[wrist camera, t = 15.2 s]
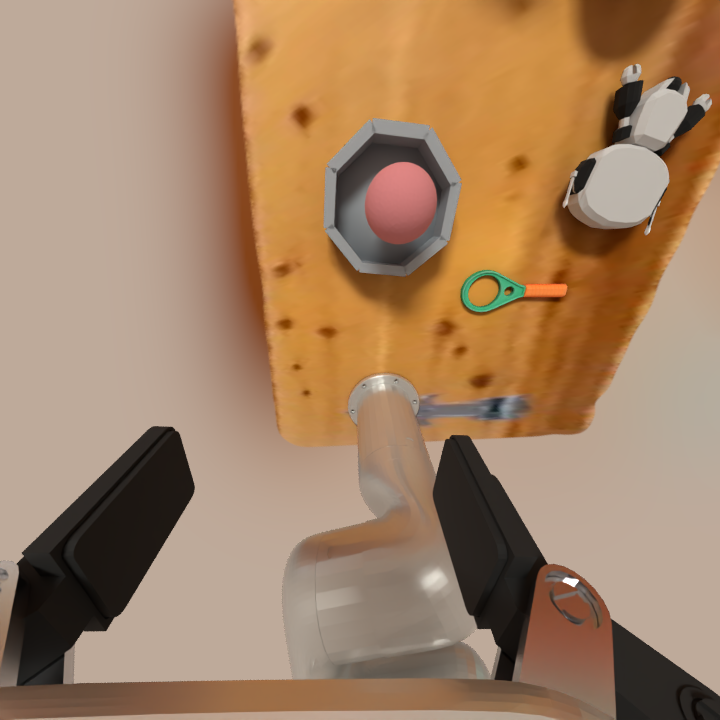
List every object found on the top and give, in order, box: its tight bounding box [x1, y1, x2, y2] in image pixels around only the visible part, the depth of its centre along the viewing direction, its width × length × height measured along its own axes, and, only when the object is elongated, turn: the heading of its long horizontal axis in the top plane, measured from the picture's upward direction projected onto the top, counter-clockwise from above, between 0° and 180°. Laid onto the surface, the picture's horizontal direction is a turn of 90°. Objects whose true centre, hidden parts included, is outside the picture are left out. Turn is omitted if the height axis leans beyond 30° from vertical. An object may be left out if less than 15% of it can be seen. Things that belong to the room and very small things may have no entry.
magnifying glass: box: [461, 270, 567, 312], centre depth 40 cm, size 15×6×2 cm, turn 91°
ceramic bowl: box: [324, 118, 462, 277], centre depth 34 cm, size 15×15×4 cm
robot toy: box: [563, 64, 712, 235], centre depth 32 cm, size 12×4×15 cm
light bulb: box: [365, 162, 437, 244], centre depth 29 cm, size 7×7×12 cm
